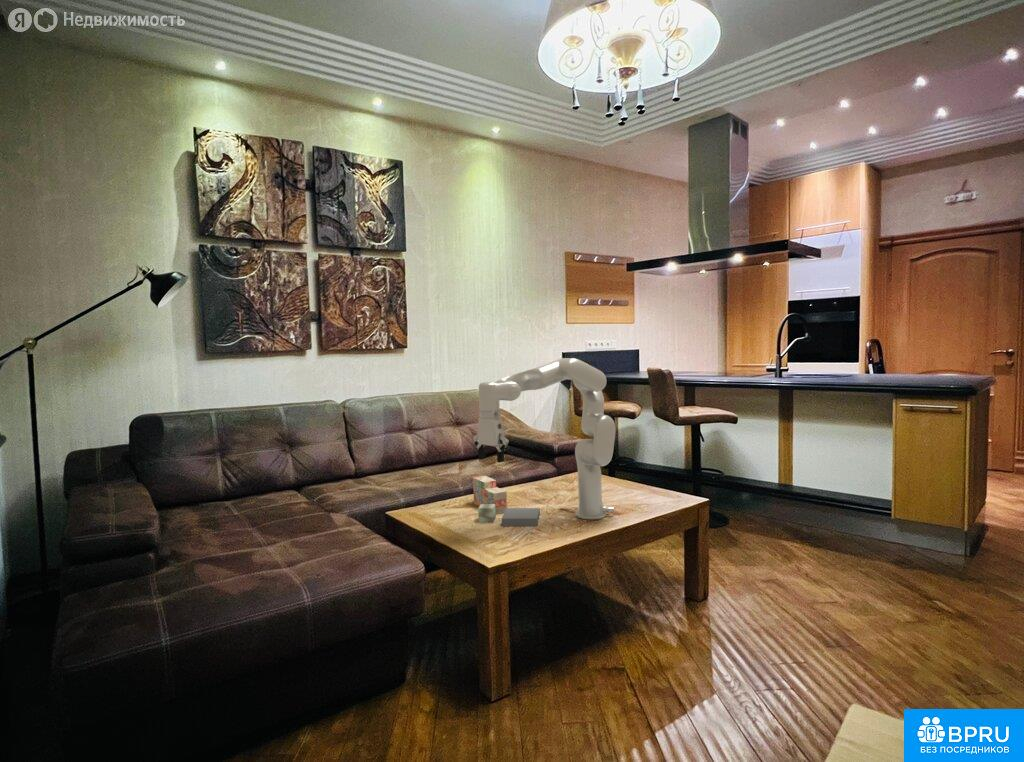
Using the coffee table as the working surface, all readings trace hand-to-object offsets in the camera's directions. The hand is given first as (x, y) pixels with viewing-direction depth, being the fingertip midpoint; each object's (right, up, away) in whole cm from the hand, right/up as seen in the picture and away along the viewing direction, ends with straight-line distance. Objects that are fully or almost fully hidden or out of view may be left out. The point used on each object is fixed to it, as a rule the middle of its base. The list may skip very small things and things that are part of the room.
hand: (491, 460), depth 206 cm
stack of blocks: (-2, -27, +37) cm, 45 cm away
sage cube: (-2, -27, +19) cm, 33 cm away
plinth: (+12, -27, +17) cm, 34 cm away
